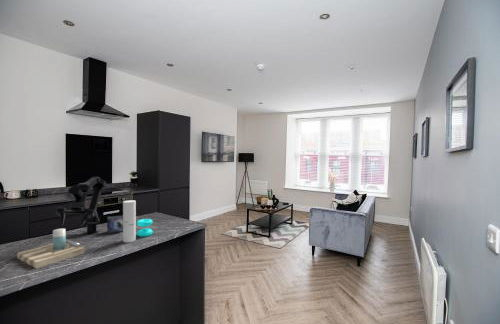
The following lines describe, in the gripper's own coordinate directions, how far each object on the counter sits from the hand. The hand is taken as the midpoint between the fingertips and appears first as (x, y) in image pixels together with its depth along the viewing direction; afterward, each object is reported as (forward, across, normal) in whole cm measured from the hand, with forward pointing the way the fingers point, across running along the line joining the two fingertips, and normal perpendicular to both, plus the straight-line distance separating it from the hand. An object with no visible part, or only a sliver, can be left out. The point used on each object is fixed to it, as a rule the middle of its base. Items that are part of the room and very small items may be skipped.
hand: (71, 226), depth 141 cm
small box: (-6, +23, +23) cm, 33 cm away
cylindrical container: (+6, +32, +4) cm, 33 cm away
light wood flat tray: (+17, -4, -1) cm, 17 cm away
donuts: (+1, +41, +10) cm, 42 cm away
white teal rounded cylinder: (+15, -2, +1) cm, 15 cm away
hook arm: (+10, +3, +1) cm, 11 cm away
